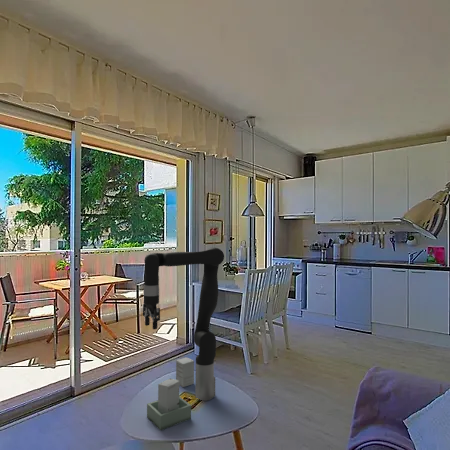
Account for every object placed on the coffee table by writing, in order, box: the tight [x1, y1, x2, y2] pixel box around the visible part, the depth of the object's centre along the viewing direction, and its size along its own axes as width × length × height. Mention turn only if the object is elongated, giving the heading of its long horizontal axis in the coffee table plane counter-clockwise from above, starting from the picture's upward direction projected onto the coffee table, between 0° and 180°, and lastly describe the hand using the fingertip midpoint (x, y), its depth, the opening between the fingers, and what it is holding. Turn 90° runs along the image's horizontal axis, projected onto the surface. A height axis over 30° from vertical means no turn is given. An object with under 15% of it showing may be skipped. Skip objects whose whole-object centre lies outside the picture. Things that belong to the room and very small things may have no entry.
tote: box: [146, 396, 192, 432], centre depth 154 cm, size 15×13×6 cm
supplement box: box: [175, 357, 195, 388], centre depth 189 cm, size 7×7×13 cm
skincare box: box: [157, 378, 180, 414], centre depth 154 cm, size 8×6×15 cm
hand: (151, 327), depth 170 cm, fingers open, 8 cm apart
